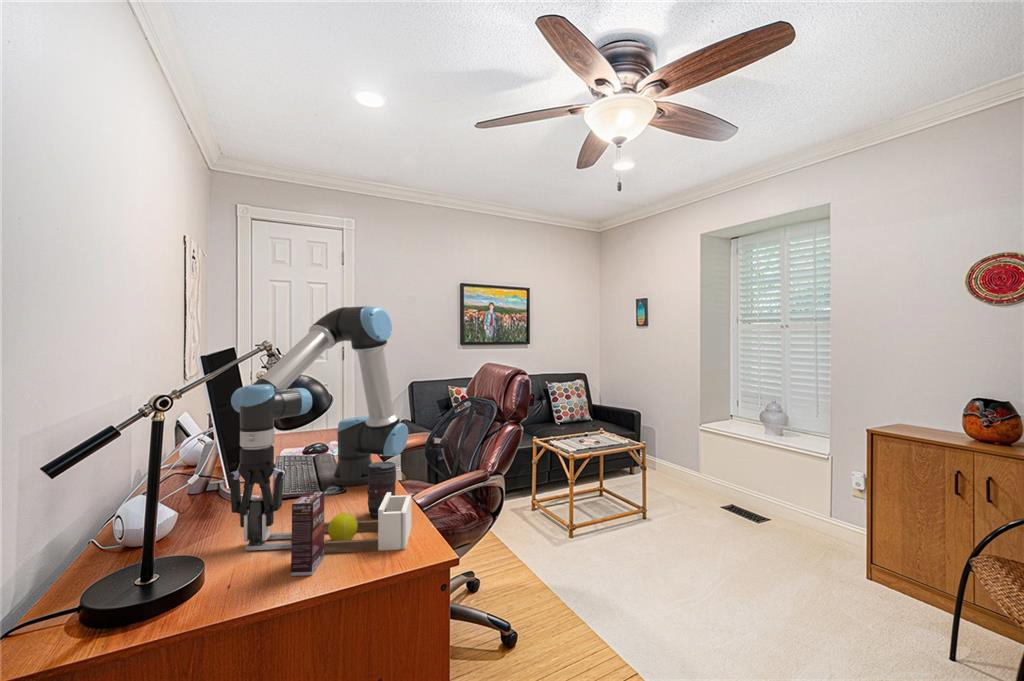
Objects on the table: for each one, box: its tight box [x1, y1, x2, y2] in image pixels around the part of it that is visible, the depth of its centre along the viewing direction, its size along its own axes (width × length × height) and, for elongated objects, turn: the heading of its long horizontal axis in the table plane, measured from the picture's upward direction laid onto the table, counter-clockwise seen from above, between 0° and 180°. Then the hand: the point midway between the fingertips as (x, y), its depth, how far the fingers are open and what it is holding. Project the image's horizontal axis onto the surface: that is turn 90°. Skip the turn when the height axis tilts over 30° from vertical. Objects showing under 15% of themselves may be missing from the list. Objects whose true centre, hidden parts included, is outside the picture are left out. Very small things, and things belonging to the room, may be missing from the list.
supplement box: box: [290, 491, 325, 577], centre depth 104 cm, size 9×5×16 cm, turn 5°
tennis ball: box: [327, 512, 358, 541], centre depth 117 cm, size 7×7×7 cm
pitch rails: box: [324, 519, 378, 554], centre depth 117 cm, size 13×17×2 cm
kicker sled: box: [245, 497, 292, 551], centre depth 115 cm, size 8×14×11 cm, turn 96°
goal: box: [377, 492, 412, 552], centre depth 119 cm, size 13×7×10 cm, turn 6°
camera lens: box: [366, 461, 397, 520], centre depth 135 cm, size 8×8×15 cm
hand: (257, 538), depth 115 cm, fingers closed on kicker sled, 4 cm apart
